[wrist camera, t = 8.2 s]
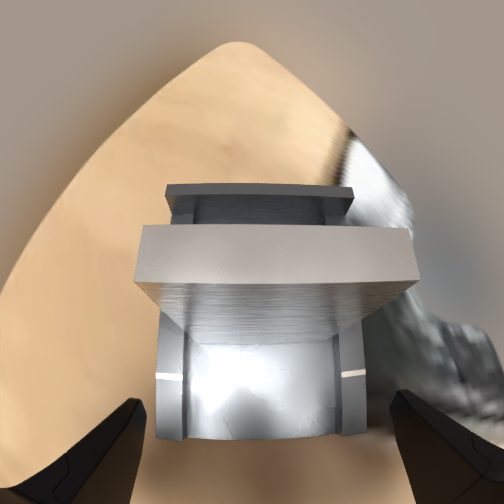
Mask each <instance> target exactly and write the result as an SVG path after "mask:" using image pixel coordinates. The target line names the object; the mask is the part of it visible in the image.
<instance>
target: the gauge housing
mask: <svg viewBox="0 0 504 504" xmlns="http://www.w3.org/2000/svg"><path fill="white" fill-rule="evenodd" d="M165 197H166V200H167V202H168V205H169V208H170V210H171V213H172V217H171V224H170V225H185V224H261V225H320V226H347V224H346V219H345V215H346V213H347V211H348V210H349V208H350V206H351V204H352V202H353V200H354V194H353V190H352V187H338V186H321V185H300V184H266V183H202V184H169V185H167V188H166V193H165ZM365 374H366V371H365V362H364V348H363V337H362V326H361V320H359V321H358V322H356V323H355V324H353V325H351V326H350V327H348V328H346V329H345V330H343V331H341V332H339V333H338V334H336V335H334V336H332V337H331V338H329V339H327V340H325V341H324V342H311V343H288V344H205V343H197V342H196V341H195V340H194V339H193V338H192V337H191V336H189V335H188V334H187V333H186V332H185V331H184V330H183V329H182V328H181V327H180V326H179V325H177V324H176V323H175V322H174V321H173V320H172V319H171V318H170V317H169V316H168V315H167V314H166V313H165V312H164V311H163V310H162V309H161V308H160V319H159V333H158V350H157V373H156V438H158V439H166V440H174V441H183V440H184V439H186V438H187V437H188V438H201V439H220V440H268V439H287V438H300V437H310V436H319V435H327V434H334V433H336V434H338V435H340V436H342V437H343V436H349V435H355V434H360V433H365V432H367V407H366V379H365Z"/></svg>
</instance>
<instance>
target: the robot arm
mask: <svg viewBox="0 0 504 504" xmlns="http://www.w3.org/2000/svg"><path fill="white" fill-rule="evenodd" d="M389 412H390V416H391V420H392V425H393V429H394V434H395V438H396V442H397V445H398V448H399V451H400V454H401V457H402V460H403V463H404V466H405V469H406V472H407V475H408V479H409V482H410V485H411V488H412V492H413V495H414V498H415V502H416V504H504V449H502V448H500V447H498V446H496V445H494V444H492V443H490V442H488V441H486V440H485V439H483V438H481V437H480V436H478V435H476V434H475V433H473V432H471V431H470V430H468V429H467V428H465V427H464V426H462V425H461V424H459V423H458V422H456V421H454V420H453V419H451V418H450V417H448V416H447V415H445V414H444V413H442V412H441V411H439V410H438V409H436V408H435V407H433V406H432V405H430V404H429V403H427V402H426V401H424V400H423V399H421V398H420V397H418V396H417V395H415V394H414V393H412V392H411V391H409V390H407V389H402V390H397V391H396V392H395V394H394V396H393V398H392V400H391V402H390V405H389ZM146 420H147V414H146V411H145V408H144V406H143V403H142V401H141V399H137V398H129V399H127V400H126V401H125V402H124V403H123V404H122V405H120V406H119V407H118V408H117V409H116V410H115V411H114V412H112V413H111V414H110V415H109V416H108V417H107V418H106V419H104V420H103V421H102V422H101V423H100V424H99V425H97V426H96V427H95V428H94V429H93V430H92V431H90V432H89V433H88V434H87V435H86V436H85V437H83V438H82V439H81V440H80V441H79V442H77V443H76V444H75V445H74V446H73V447H71V448H70V449H69V450H68V451H67V453H64V454H63V455H62V456H61V457H59V458H58V459H57V460H56V461H54V462H53V463H52V464H50V465H49V466H47V467H46V468H44V469H43V470H41V471H40V472H38V473H37V474H35V475H33V476H32V477H30V478H28V479H27V480H25V481H23V482H22V483H20V484H18V485H16V486H13V487H9V488H0V504H130V500H131V496H132V491H133V487H134V483H135V479H136V475H137V471H138V467H139V463H140V459H141V455H142V449H143V442H144V434H145V427H146Z"/></svg>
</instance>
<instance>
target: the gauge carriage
mask: <svg viewBox="0 0 504 504" xmlns="http://www.w3.org/2000/svg"><path fill="white" fill-rule="evenodd" d="M419 280H420V276H419V271H418V266H417V262H416V258H415V254H414V250H413V246H412V242H411V238H410V234H409V231H408V229H405V228H382V227H355V226H320V225H261V224H185V225H143V230H142V235H141V241H140V246H139V252H138V258H137V264H136V270H135V277H134V282H135V283H136V284H137V285H138V286H139V287H140V288H141V289H142V290H143V291H144V292H145V293H146V294H147V296H148V297H149V298H150V299H151V300H152V301H154V302H155V303H156V304H157V305H158V306H159V307H160V308H161V309H162V310H163V311H164V312H165V313H166V314H167V315H168V316H169V317H170V318H171V319H172V320H173V321H174V322H175V323H176V324H177V325H179V326H180V327H181V328H182V329H183V330H184V331H185V332H186V333H187V334H188V335H189V336H191V337H192V338H193V339H194V340H195V341H196V342H197V343H205V344H288V343H311V342H324V341H325V340H327V339H329V338H331V337H332V336H334V335H336V334H338V333H339V332H341V331H343V330H345V329H346V328H348V327H350V326H351V325H353V324H355V323H356V322H358V321H359V320H361V319H363V318H364V317H366V316H367V315H369V314H371V313H372V312H374V311H375V310H377V309H378V308H380V307H382V306H383V305H385V304H386V303H388V302H389V301H391V300H392V299H394V298H395V297H397V296H398V295H400V294H401V293H402V292H404V291H405V290H407V289H408V288H410V287H411V286H412V285H414V284H415V283H417V282H418V281H419Z"/></svg>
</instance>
